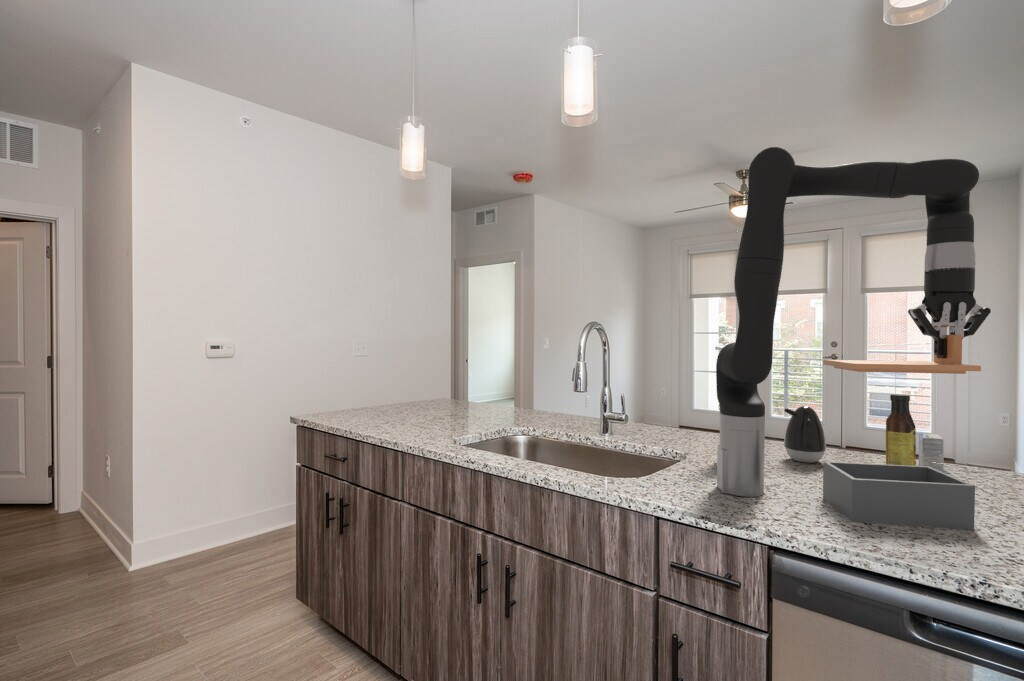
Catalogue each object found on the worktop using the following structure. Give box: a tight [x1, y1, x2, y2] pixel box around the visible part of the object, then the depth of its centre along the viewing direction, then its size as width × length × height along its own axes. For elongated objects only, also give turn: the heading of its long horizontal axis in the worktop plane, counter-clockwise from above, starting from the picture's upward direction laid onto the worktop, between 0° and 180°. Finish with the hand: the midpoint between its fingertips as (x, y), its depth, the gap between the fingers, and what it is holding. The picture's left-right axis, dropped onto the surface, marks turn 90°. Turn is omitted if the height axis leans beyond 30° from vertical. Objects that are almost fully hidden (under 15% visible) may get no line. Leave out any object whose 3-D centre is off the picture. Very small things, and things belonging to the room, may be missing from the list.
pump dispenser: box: [783, 405, 827, 464], centre depth 146 cm, size 10×10×15 cm
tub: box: [822, 461, 976, 531], centre depth 104 cm, size 20×14×8 cm
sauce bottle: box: [885, 393, 917, 466], centre depth 135 cm, size 7×6×20 cm
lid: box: [822, 334, 982, 375], centre depth 103 cm, size 21×15×7 cm
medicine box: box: [918, 432, 945, 473], centre depth 139 cm, size 8×4×9 cm, turn 148°
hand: (947, 357), depth 102 cm, fingers closed on lid, 1 cm apart
